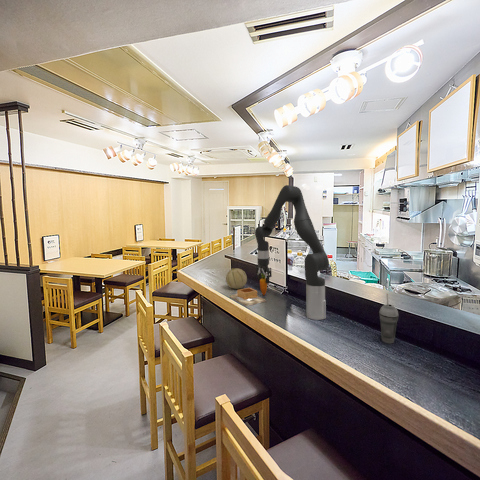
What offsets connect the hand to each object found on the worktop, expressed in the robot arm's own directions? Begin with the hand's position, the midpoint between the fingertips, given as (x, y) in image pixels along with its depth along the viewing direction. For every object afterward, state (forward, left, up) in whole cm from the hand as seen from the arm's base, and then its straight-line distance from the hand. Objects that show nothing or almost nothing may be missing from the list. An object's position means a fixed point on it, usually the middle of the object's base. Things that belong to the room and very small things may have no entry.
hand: (263, 281), depth 181 cm
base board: (+10, +8, -9) cm, 16 cm away
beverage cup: (-54, +59, -9) cm, 81 cm away
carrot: (0, 0, -9) cm, 9 cm away
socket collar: (+10, +8, -8) cm, 15 cm away
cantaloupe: (+20, -16, -9) cm, 27 cm away
